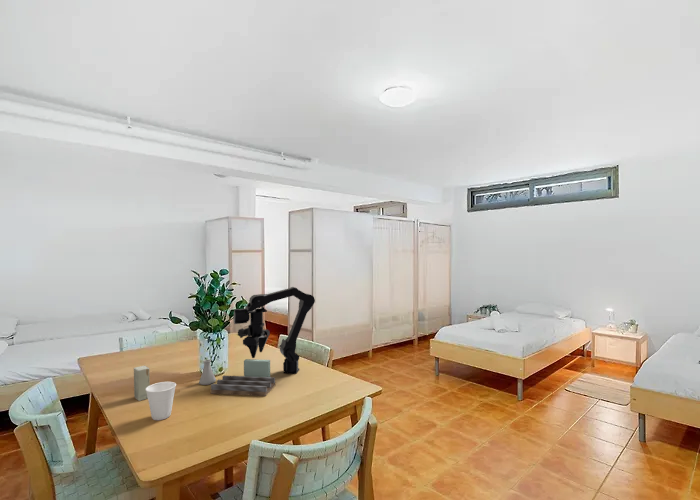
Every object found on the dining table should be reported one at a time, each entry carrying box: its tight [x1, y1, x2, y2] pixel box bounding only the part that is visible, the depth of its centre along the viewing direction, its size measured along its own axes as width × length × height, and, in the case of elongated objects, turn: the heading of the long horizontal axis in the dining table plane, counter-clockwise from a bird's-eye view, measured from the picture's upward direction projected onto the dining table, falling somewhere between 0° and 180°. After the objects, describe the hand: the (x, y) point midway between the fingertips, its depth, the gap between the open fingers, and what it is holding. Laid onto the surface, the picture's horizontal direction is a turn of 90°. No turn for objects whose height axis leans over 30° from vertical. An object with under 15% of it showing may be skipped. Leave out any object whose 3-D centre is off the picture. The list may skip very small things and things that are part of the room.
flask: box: [198, 359, 217, 386], centre depth 166 cm, size 7×7×10 cm
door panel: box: [243, 358, 271, 377], centre depth 172 cm, size 12×2×8 cm, turn 83°
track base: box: [210, 375, 276, 397], centre depth 157 cm, size 24×12×4 cm, turn 83°
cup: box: [145, 381, 177, 421], centre depth 132 cm, size 10×10×11 cm
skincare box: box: [133, 365, 151, 402], centre depth 149 cm, size 6×4×12 cm
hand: (257, 354), depth 172 cm, fingers open, 9 cm apart
